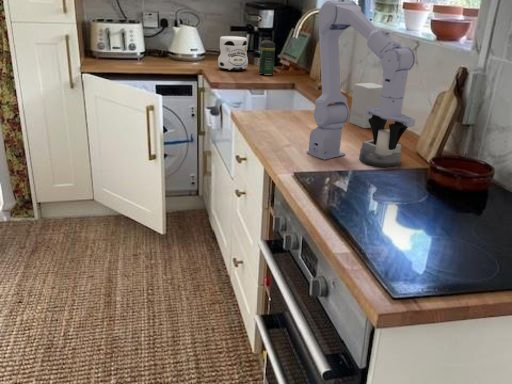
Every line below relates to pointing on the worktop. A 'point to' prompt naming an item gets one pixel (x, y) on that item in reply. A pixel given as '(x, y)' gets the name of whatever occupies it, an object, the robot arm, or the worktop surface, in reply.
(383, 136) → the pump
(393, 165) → the square tube on disc
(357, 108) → the supplement box
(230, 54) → the milk container
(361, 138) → the worktop surface
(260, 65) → the coffee jar
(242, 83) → the worktop surface
